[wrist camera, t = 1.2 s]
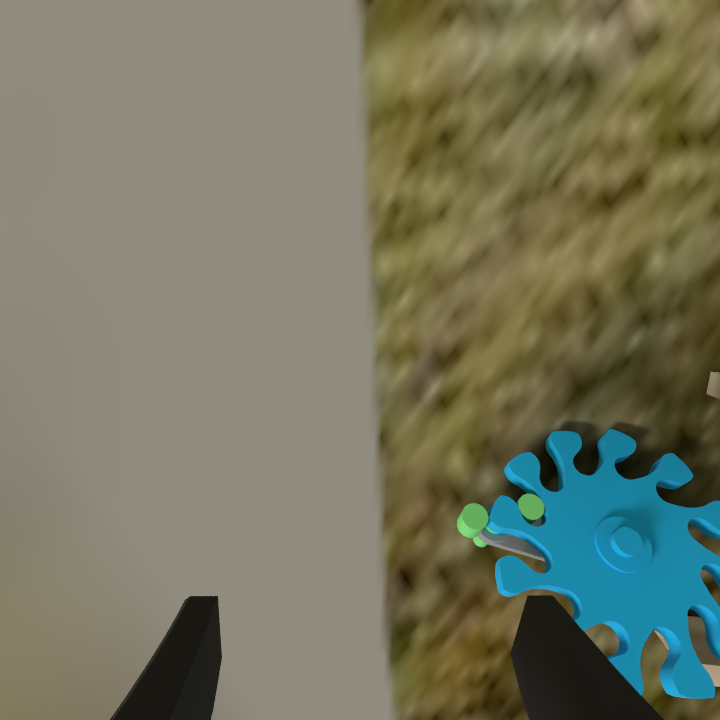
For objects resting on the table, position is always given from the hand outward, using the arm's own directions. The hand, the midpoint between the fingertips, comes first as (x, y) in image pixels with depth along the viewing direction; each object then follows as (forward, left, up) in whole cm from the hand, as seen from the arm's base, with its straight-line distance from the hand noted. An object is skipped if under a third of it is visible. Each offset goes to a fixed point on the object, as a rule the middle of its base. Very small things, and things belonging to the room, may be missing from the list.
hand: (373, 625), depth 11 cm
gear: (-2, -9, -12) cm, 15 cm away
